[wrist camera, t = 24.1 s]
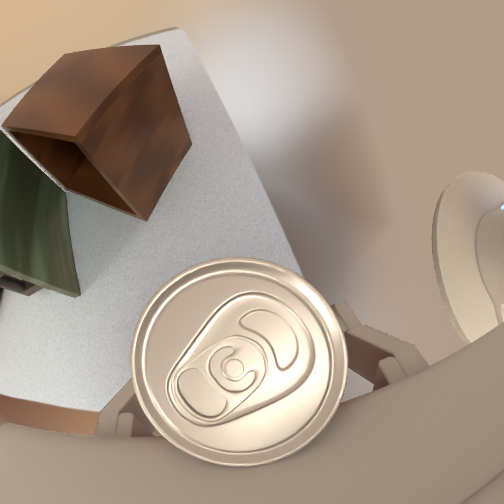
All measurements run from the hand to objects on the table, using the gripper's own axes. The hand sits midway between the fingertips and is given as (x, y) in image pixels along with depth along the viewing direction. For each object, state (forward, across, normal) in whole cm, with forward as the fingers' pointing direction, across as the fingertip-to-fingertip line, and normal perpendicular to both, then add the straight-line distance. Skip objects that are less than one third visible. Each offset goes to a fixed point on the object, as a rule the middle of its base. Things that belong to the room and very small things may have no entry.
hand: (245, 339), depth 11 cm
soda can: (+4, 0, +5) cm, 7 cm away
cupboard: (+30, +13, -6) cm, 33 cm away
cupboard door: (+23, +24, +1) cm, 34 cm away
